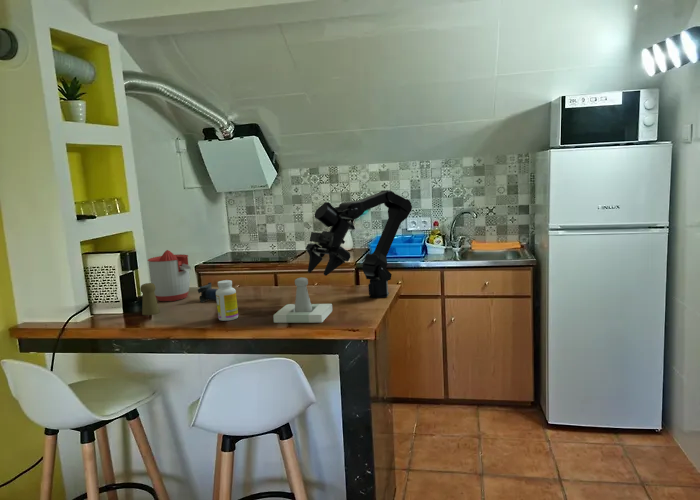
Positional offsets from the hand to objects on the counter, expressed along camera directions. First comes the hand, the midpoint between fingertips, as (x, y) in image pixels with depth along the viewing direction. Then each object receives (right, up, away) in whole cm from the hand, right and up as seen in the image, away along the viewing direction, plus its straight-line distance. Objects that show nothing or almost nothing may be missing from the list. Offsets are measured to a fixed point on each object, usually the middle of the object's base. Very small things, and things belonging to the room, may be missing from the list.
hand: (316, 273), depth 185 cm
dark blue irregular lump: (-40, -12, +29) cm, 51 cm away
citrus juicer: (-60, -12, +37) cm, 71 cm away
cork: (-61, -15, +15) cm, 65 cm away
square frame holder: (-4, -14, -4) cm, 15 cm away
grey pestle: (-4, -14, -4) cm, 15 cm away
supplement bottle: (-30, -15, 0) cm, 34 cm away
